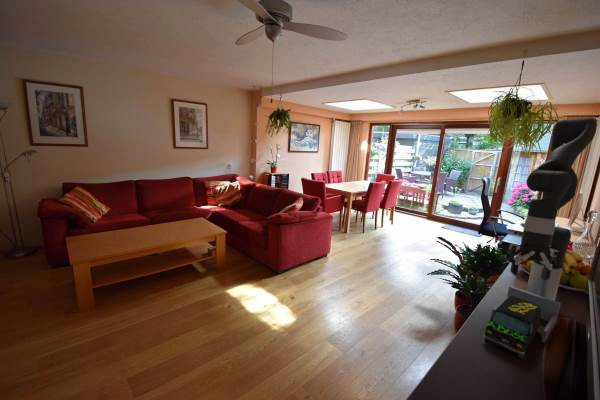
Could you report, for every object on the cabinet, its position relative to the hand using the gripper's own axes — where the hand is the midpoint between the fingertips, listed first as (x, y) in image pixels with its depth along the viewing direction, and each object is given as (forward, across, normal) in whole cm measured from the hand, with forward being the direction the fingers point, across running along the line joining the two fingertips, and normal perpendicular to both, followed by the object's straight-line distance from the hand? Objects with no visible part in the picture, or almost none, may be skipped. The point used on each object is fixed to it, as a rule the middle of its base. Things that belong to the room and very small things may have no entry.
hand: (528, 277), depth 90 cm
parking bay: (+19, -5, -7) cm, 21 cm away
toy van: (+20, +3, +4) cm, 21 cm away
